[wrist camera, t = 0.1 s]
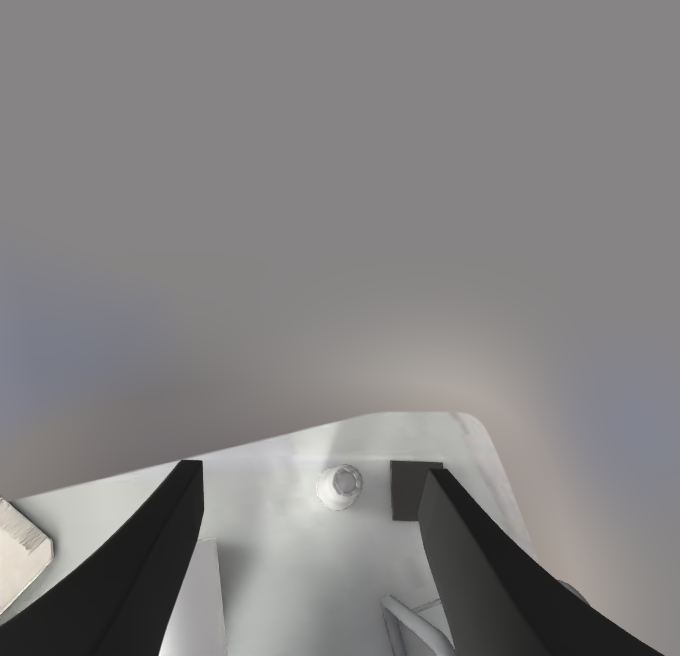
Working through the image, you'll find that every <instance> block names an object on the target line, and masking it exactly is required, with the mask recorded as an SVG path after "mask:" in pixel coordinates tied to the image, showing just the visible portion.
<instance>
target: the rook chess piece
mask: <svg viewBox="0 0 680 656" xmlns="http://www.w3.org/2000/svg"><path fill="white" fill-rule="evenodd" d="M362 484H363V481H362V477H361V474H360V473H359V471H358V470H357V469H356V468H354V467H353V466H351V465H347V464H343V465H338V466H334V467H330V468H328V469H327V470H325V471H324V472H322V474H321V476H320V477H319V479H318V482H317V488H316V489H317V495H318V498H319V500H320V501H321V503H322V504H323V505H324V506H325V507H327V508H328V509H330V510H335V511H340V510H344V509H346V508H348V507H349V506H350V505H351V504H353V502H354V501H355V499H356V498H357V497H358V496H359V494H360V492H361V490H362Z"/></svg>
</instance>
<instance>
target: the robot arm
mask: <svg viewBox="0 0 680 656" xmlns="http://www.w3.org/2000/svg"><path fill="white" fill-rule="evenodd" d="M203 513H204V492H203V463H202V461H200V460H181V461H180V462H179V463H178V464H177V465H176V466H175V468H174V469H173V470H172V471H171V472H170V474H169V475H168V476H167V477H166V478H165V480H164V481H163V482H162V483H161V484H160V485H159V487H158V488H157V489H156V490H155V491H154V492H153V493H152V495H151V496H150V497H149V498H148V499H147V500H146V501H145V502H144V503H143V504H142V505H141V506H140V508H139V509H138V510H137V511H136V512H135V513H134V514H133V515H132V516H131V517H130V518H129V519H128V520H127V521H126V522H125V523H124V524H123V525H122V526H121V527H120V528H119V529H118V530H117V531H116V532H115V533H114V534H113V535H112V536H111V537H110V538H109V539H108V540H107V541H106V542H105V543H104V544H103V545H102V546H101V547H99V548H98V549H97V550H96V551H95V552H94V553H93V554H92V555H91V556H90V557H88V558H87V559H86V560H85V561H84V562H83V563H82V564H80V565H79V566H78V567H77V568H76V569H75V570H73V571H72V572H71V573H70V574H69V575H67V576H66V577H65V578H64V579H62V580H61V581H60V582H59V583H57V584H56V585H55V586H54V587H52V588H51V589H50V590H49V591H47V592H46V593H45V594H44V595H42V596H41V597H40V598H39V599H37V600H36V601H35V602H33V603H32V604H31V605H29V606H28V607H27V608H25V609H24V610H22V611H21V612H20V613H18V614H17V615H15V616H14V617H13V618H11V619H10V620H8V621H7V622H6V623H4V624H3V625H1V626H0V656H159V652H160V649H161V645H162V642H163V638H164V635H165V632H166V629H167V626H168V623H169V620H170V617H171V614H172V611H173V609H174V606H175V603H176V600H177V597H178V594H179V592H180V589H181V586H182V583H183V580H184V578H185V575H186V572H187V569H188V566H189V563H190V560H191V558H192V555H193V552H194V549H195V546H196V543H197V539H198V534H199V530H200V526H201V522H202V517H203ZM418 520H419V525H420V530H421V535H422V540H423V545H424V549H425V552H426V555H427V559H428V562H429V565H430V568H431V571H432V574H433V578H434V581H435V584H436V587H437V590H438V593H439V596H440V599H441V602H442V605H443V608H444V612H445V615H446V618H447V621H448V624H449V628H450V631H451V635H452V638H453V642H454V647H455V651H456V655H457V656H664V655H663V654H661V653H659V652H657V651H656V650H654V649H653V648H651V647H649V646H648V645H646V644H645V643H643V642H641V641H640V640H638V639H637V638H635V637H634V636H632V635H631V634H629V633H628V632H626V631H625V630H623V629H622V628H620V627H619V626H618V625H616V624H615V623H613V622H612V621H610V620H609V619H607V618H606V617H605V616H603V615H602V614H600V613H599V612H597V611H596V610H595V609H593V608H592V607H591V606H589V605H588V604H587V603H585V602H584V601H583V600H581V599H580V598H579V597H578V596H576V595H575V594H574V593H572V592H571V591H570V590H568V589H567V588H566V587H565V586H563V585H562V584H561V583H560V582H558V581H557V580H556V579H555V578H554V577H552V576H551V575H550V574H549V573H548V572H547V571H545V570H544V569H543V568H542V567H541V566H540V565H539V564H537V563H536V562H535V561H534V560H533V559H532V558H531V557H530V556H528V555H527V554H526V553H525V552H524V551H523V550H522V549H521V548H520V547H519V546H518V545H517V544H516V543H515V542H514V541H513V540H512V539H511V538H510V537H509V536H508V535H507V534H506V533H505V532H504V531H503V530H502V529H501V528H500V527H499V526H498V525H497V524H496V523H495V522H494V521H493V520H492V519H491V518H490V517H489V516H488V515H487V513H486V512H485V511H484V510H483V509H482V508H481V507H480V506H479V505H478V504H477V502H476V501H475V500H474V499H473V498H472V497H471V496H470V495H469V493H468V492H467V491H466V490H465V489H464V488H463V487H462V485H461V484H460V483H459V482H458V481H457V480H456V479H455V477H454V476H453V475H452V474H451V473H450V472H449V471H448V470H447V469H436V468H429V470H428V474H427V478H426V482H425V486H424V490H423V495H422V499H421V503H420V507H419V511H418Z"/></svg>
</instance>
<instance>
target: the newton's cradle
mask: <svg viewBox="0 0 680 656" xmlns="http://www.w3.org/2000/svg"><path fill="white" fill-rule="evenodd" d="M557 581H558V582H560V583H561V584H562V585H563V586H565V587H566V588H567V589H568V590H570V591H571V592H572V593H574V594H575V595H576V596H578V597H579V598H580V599H581V600H583V601H584V602H585V603H587V604H588V605H589V603H588V602H587V601H586V600H585V598H584V597H583V596H582V595H581V594H580V593H579V592H578V591H577V590H576V589H574V588H573V587H572V586H571V585H569V584H567V583H565V582H563V581H560V580H557ZM441 603H442V602H441V599H437V600H435V601H432V602H429V603H427V604H424V605H422V606H419V607H416V608H414V609H410V608H408V607H407V606H406V605H404V604H403V603H402V602H400V601H399V600H397V599H396V598H395V597H393V596H392V595H385V596H384V597H383V600H382V609H383V614H384V618H385V622H386V626H387V630H388V634H389V637H390V641H391V645H392V649H393V652H394V656H407V654H406V650H405V646H404V643H403V639H402V636H401V632H400V629H399V625H398V621H397V620H400V621H401V622H402V623H403V624H405V625H406V626H407V627H408V628H409V629H410V630H411V631H412V632H414V633H415V634H416V635H417V636H418V637H419V638H420V639H421V640H422V641H424V642H425V643H426V644H427V645H428V646H429V647H430V648H431V649H432V650H433V651H434V652H435V654H436V656H457V655H456V651H455V649H454V648H453V646H452V644H451V643H450V641H449V640H448V638H447V637H446V636H445V635H444V634H443V633H442V632H441V631H440V630H439V629H437V628H436V627H434V626H433V625H432V624H430V623H429V622H428V621H426V620H425V619H423V618H422V617H421V616H419V615H418V614H417V613H418V612H420V611H423V610H425V609H428V608H430V607H433V606H436V605H438V604H441ZM589 606H590V605H589Z"/></svg>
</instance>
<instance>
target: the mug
mask: <svg viewBox="0 0 680 656" xmlns="http://www.w3.org/2000/svg"><path fill="white" fill-rule="evenodd" d="M159 656H228V654H227V644H226V634H225V624H224V614H223V604H222V594H221V584H220V573H219V563H218V553H217V543H216V538H214V537H212V538H208V539H204V540H200V541H197V543H196V546H195V549H194V552H193V555H192V558H191V560H190V563H189V566H188V569H187V572H186V575H185V578H184V580H183V583H182V586H181V589H180V592H179V594H178V597H177V600H176V603H175V606H174V609H173V611H172V614H171V617H170V620H169V623H168V626H167V629H166V632H165V635H164V638H163V642H162V645H161V649H160V652H159Z"/></svg>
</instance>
